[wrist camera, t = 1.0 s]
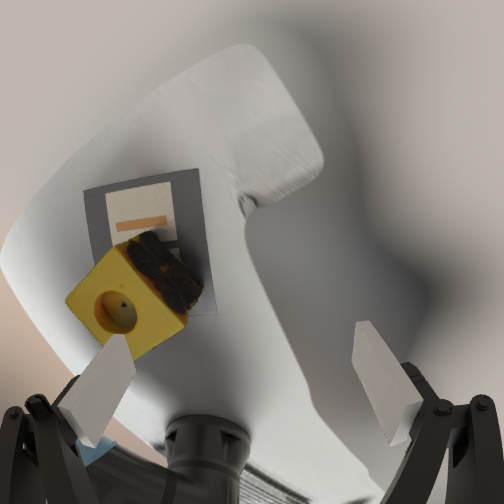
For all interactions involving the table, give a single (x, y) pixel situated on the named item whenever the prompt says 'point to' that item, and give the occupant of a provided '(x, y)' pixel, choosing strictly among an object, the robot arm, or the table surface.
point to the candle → (136, 294)
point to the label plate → (155, 222)
